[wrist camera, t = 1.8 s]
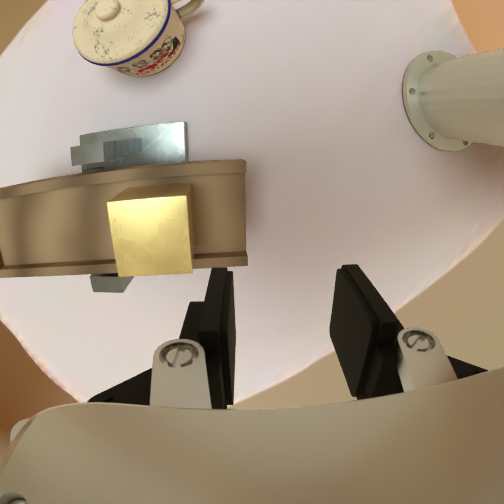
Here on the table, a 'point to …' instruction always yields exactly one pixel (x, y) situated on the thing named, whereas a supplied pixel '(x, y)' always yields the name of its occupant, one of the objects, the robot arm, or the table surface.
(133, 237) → the block
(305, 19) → the table surface
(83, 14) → the teacup with lid
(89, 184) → the balance beam
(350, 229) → the table surface
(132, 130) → the pivot stand
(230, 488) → the robot arm
